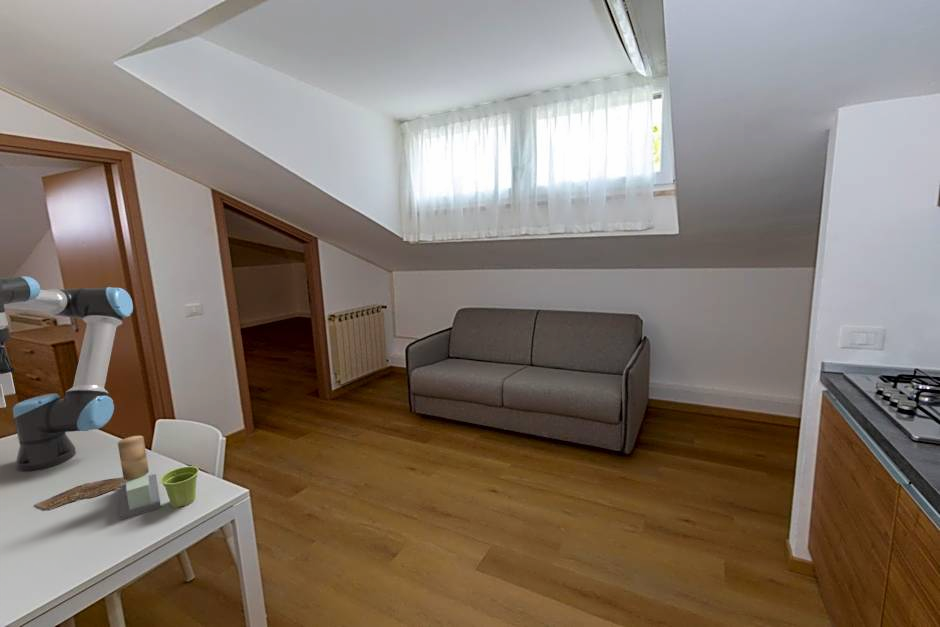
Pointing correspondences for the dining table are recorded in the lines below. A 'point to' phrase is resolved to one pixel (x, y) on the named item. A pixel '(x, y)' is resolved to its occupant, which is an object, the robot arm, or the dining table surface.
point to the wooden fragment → (81, 493)
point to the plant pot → (181, 485)
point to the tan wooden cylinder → (133, 457)
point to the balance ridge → (139, 496)
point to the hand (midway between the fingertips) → (3, 401)
